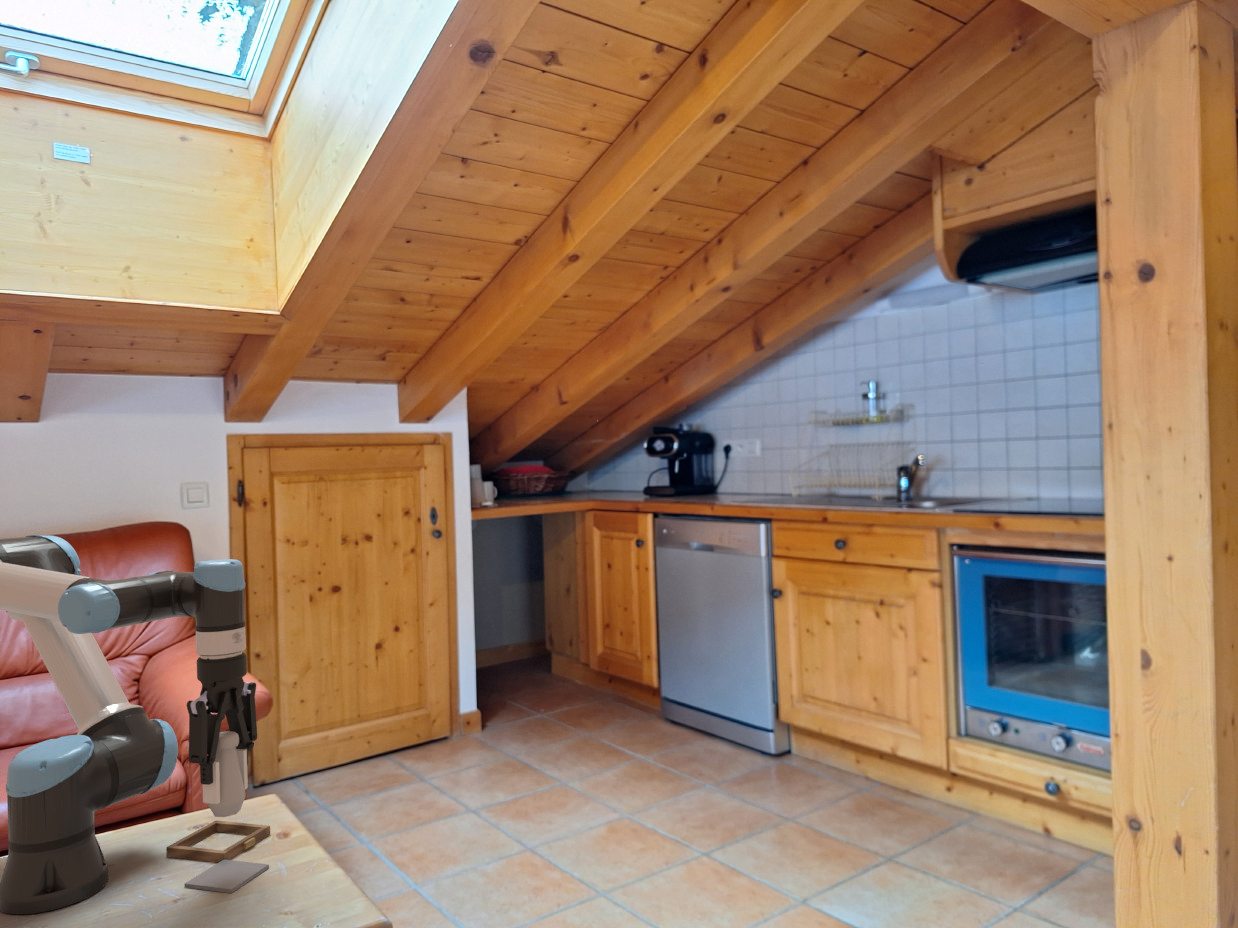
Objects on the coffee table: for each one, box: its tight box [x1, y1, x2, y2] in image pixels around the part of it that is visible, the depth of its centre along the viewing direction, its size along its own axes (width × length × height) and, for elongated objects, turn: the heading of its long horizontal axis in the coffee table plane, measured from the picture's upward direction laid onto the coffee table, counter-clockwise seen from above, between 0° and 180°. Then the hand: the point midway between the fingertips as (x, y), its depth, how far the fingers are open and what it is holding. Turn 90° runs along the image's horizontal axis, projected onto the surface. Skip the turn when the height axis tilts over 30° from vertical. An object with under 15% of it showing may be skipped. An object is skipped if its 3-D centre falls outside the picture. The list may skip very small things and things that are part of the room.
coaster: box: [184, 859, 270, 894], centre depth 145 cm, size 9×9×1 cm
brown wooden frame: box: [165, 820, 271, 863], centre depth 158 cm, size 13×12×2 cm
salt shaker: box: [206, 730, 246, 818], centre depth 145 cm, size 6×6×13 cm
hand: (225, 794), depth 145 cm, fingers closed on salt shaker, 6 cm apart
